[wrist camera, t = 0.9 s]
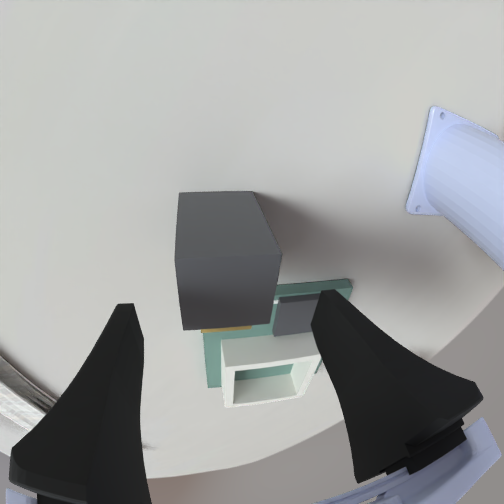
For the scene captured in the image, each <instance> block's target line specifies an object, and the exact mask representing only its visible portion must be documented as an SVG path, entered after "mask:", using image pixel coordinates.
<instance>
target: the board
mask: <svg viewBox="0 0 504 504" xmlns="http://www.w3.org/2000/svg"><path fill="white" fill-rule="evenodd" d="M331 289H335V290H336V291H338V292H339V293H340V294H341V295H342V296H343V297H344V298H346V299H347V300H348V299H349V297H350V294H351V292H352V289H353V287H352V285H351V283H350V282H349V280H348V279H342V280H332V281H321V282H310V283H298V284H286V285H277V287H276V292H275V298H274V304H273V309H272V315H271V320H270V324H262V325H252V328H251V329H246V330H235V331H222V332H208V333H203V339H204V352H205V363H206V374H207V384H208V388H214V387H222V392H223V398H224V405H225V408H231V407H240V406H248V405H256V404H263V403H269V402H276V401H282V400H287V399H293V398H298V397H303V395H304V393H305V391H306V389H307V387H308V385H309V383H310V381H311V379H312V377H313V375H314V374H315V373H316V372H317V370H318V368H319V366H320V364H321V362H322V358H321V356H320V353H319V351H318V348H317V346H316V343H315V339H314V336H313V332H312V329H311V325H310V324H311V321H312V318H313V315H314V312H315V309H316V306H317V303H318V299H319V296H320V293H321V291H322V290H331Z"/></svg>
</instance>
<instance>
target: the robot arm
mask: <svg viewBox="0 0 504 504" xmlns="http://www.w3.org/2000/svg"><path fill="white" fill-rule="evenodd" d="M440 114H441V117H440ZM416 207H417V208H416ZM406 211H407V212H408V213H409V214H421V215H440V216H444V217H446V218H447V219H448V220H449V221H450V222H452V223H453V224H454V225H455V226H456V227H458V228H459V229H460V230H461V231H462V232H463V233H464V234H466V235H467V236H468V237H469V238H470V239H471V240H472V241H473V242H474V243H476V244H477V245H478V246H479V247H480V248H481V249H482V250H483V251H484V252H485V253H486V254H487V255H488V256H489V257H490V258H491V259H492V260H493V261H494V262H495V263H496V264H497V265H498V266H499V267H500V268H501V269H502V270H503V271H504V142H503V141H501V140H499V137H498V136H497V135H496V134H494V133H492V132H490V131H489V130H487V129H485V128H483V127H481V126H479V125H477V124H475V123H473V122H471V121H469V120H467V119H465V118H463V117H461V116H458V115H456V114H454V113H452V112H450V111H447V110H445V109H443V108H440V107H437V106H432V107H431V109H430V113H429V118H428V123H427V128H426V133H425V137H424V142H423V146H422V150H421V154H420V158H419V162H418V166H417V170H416V173H415V177H414V181H413V184H412V188H411V191H410V194H409V198H408V201H407V204H406ZM310 325H311V329H312V332H313V336H314V339H315V343H316V346H317V348H318V351H319V353H320V356H321V358H322V360H323V363H324V365H325V367H326V369H327V372H328V374H329V376H330V379H331V381H332V383H333V385H334V388H335V390H336V393H337V396H338V398H339V402H340V405H341V409H342V412H343V416H344V420H345V423H346V428H347V432H348V436H349V441H350V446H351V452H352V459H353V466H354V476H355V478H356V481H357V483H361V482H363V481H366V480H368V479H371V478H373V477H375V476H378V475H380V474H382V473H384V472H386V474H387V476H386V477H383V478H381V479H379V480H376V481H374V482H372V483H370V484H367V485H365V486H362V487H360V488H357V489H355V490H352V491H349V492H347V493H344V494H341V495H338V496H335V497H332V498H329V499H326V500H323V501H319V502H316V503H313V504H358V503H361V502H363V501H366V500H368V499H370V498H373V497H375V496H377V495H378V496H377V499H376V500H375V501H373V502H370V503H367V504H455V503H456V502H457V501H458V500H459V499H460V498H461V497H462V496H463V495H464V494H465V493H466V492H467V491H468V490H469V489H470V488H471V487H472V486H473V485H474V484H475V483H476V482H477V480H478V479H479V478H480V477H481V476H482V475H483V474H484V473H485V472H486V471H487V470H488V469H489V468H490V467H491V466H492V465H493V464H494V463H495V462H496V461H497V460H498V459H499V458H500V457H501V452H500V450H499V448H498V446H497V444H496V442H495V440H494V438H493V436H492V434H491V432H490V430H489V428H488V426H487V424H486V422H485V420H484V418H483V417H481V418H480V419H478V420H477V421H476V422H474V423H473V424H472V425H470V426H469V427H468V428H466V429H465V430H462V428H461V426H462V425H464V422H463V420H462V417H464V416H465V415H466V414H467V413H469V412H470V411H471V410H472V409H473V408H474V407H476V406H477V405H478V404H479V403H480V402H481V401H482V400H483V396H482V394H481V392H480V390H479V389H478V387H477V385H476V383H475V382H473V381H470V380H467V379H464V378H462V377H459V376H456V375H454V374H451V373H449V372H447V371H445V370H442V369H440V368H438V367H436V366H434V365H432V364H431V363H429V362H427V361H425V360H424V359H422V358H420V357H418V356H417V355H415V354H414V353H412V352H411V351H409V350H408V349H406V348H405V347H403V346H402V345H400V344H399V343H398V342H396V341H395V340H393V339H392V338H391V337H390V336H388V335H387V334H386V333H385V332H383V331H382V330H381V329H380V328H378V327H377V326H376V325H375V324H374V323H373V322H371V321H370V320H369V319H368V318H367V317H366V316H365V315H363V314H362V313H361V312H360V311H359V310H358V309H357V308H356V307H354V306H353V305H352V304H351V303H350V302H349V301H348V300H347V299H346V298H344V297H343V296H342V295H341V294H340V293H339V292H338V291H336V290H335V289H331V290H322V291H321V293H320V296H319V299H318V303H317V306H316V309H315V312H314V315H313V318H312V321H311V324H310ZM143 367H144V337H143V334H142V331H141V328H140V324H139V321H138V317H137V314H136V310H135V307H134V303H129V304H118V305H117V306H116V307H115V309H114V311H113V313H112V315H111V317H110V319H109V321H108V322H107V324H106V326H105V328H104V330H103V332H102V333H101V335H100V337H99V339H98V340H97V342H96V344H95V346H94V347H93V349H92V351H91V353H90V354H89V356H88V357H87V359H86V361H85V362H84V364H83V365H82V367H81V369H80V370H79V372H78V373H77V375H76V376H75V378H74V379H73V381H72V382H71V383H70V385H69V386H68V388H67V389H66V390H65V392H64V393H63V394H62V396H61V397H60V398H59V399H58V401H57V402H56V403H55V404H54V406H53V407H52V408H51V409H50V410H49V412H48V413H47V414H46V415H45V416H44V417H43V418H42V419H41V420H40V421H39V422H38V424H37V425H36V426H35V427H34V428H33V429H32V430H31V431H30V432H29V433H28V434H27V435H25V436H24V437H23V438H22V439H21V440H20V441H19V442H18V443H17V444H16V445H15V446H13V447H12V450H11V456H10V471H9V480H10V482H11V483H13V484H15V485H17V486H20V487H22V488H24V489H27V490H30V491H32V492H35V493H37V499H35V498H32V497H29V496H27V495H24V494H21V493H19V492H16V491H14V490H11V489H9V488H7V489H6V504H152V503H151V498H150V494H149V489H148V484H147V479H146V473H145V467H144V460H143V451H142V442H141V430H140V404H141V390H142V378H143Z"/></svg>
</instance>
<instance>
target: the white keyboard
mask: <svg viewBox="0 0 504 504" xmlns="http://www.w3.org/2000/svg"><path fill="white" fill-rule="evenodd" d="M7 365H8V366H7ZM13 370H14V371H15V372H16V373H17V374H18V375H20V376H21V377H22V378H23V379H24V380H26V381H27V382H28V383H29V384H31V385H32V386H33V387H35V388H36V389H37V390H39V391H40V392H41V393H43V394H44V395H45V396H47V397H48V398H49V399H51V400H52V401H54V402H55V403H56V402H57V401H56V400H55V399H54V398H52V397H51V396H49V395H48V394H47V393H45V392H44V391H42V390H41V389H40V388H38V387H37V386H36V385H34V384H33V383H32V382H31V381H29V380H28V379H27V378H26V377H24V376H23V375H22V374H21V373H19V372H18V371H17V370H16V369H15V368H14V367H12V366H11V365H10V364H9V363H8V362H7V361H6V360H5V359H3V358H2V357H1V356H0V413H1V414H3V415H4V416H6V417H7V418H9V419H10V420H12V421H13V422H15V423H17V424H18V425H20V426H21V427H23V428H25V429H26V430H28V431H31V430H32V429H33V428H34V427H35V426H36V425H37V424H38V422H39V421H40V420H41V419H42V418H43V417H44V416H45V415H46V414H47V413H46V412H45V411H44V410H42V409H41V408H40V407H38V406H37V405H36V404H35V403H34V402H36V403H37V404H39V405H41V406H43V407H44V408H46V409H48V410H50V409H49V408H47V407H46V406H45V405H44V404H42V403H41V402H40V401H39V400H38V399H36V398H35V397H34V396H36V397H37V398H39V399H40V400H41V401H43V402H44V403H46V404H47V405H49V406H50V407H53V406H54V403H52V402H51V401H50V400H48V399H47V398H46V397H44V396H43V395H42V394H40V393H39V392H38V391H36V390H35V389H34V388H33V387H31V386H30V385H29V384H28V383H26V382H25V381H24V380H23V379H22V378H21V377H19V376H18V375H17V374H16V373H15V372H14V371H13ZM4 379H5V380H4ZM10 384H11V385H10ZM15 388H16V389H15ZM19 391H20V392H21V393H20V392H19ZM28 391H29V392H28ZM22 393H23V394H24V395H26V396H27V397H28V398H30V399H31V400H33V401H34V402H32V401H31V400H29V399H28V398H27V397H26V396H24V395H23V394H22ZM31 393H32V394H33V395H34V396H33V395H32V394H31Z"/></svg>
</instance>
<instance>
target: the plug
mask: <svg viewBox="0 0 504 504" xmlns="http://www.w3.org/2000/svg"><path fill="white" fill-rule="evenodd" d="M281 257H282V252H281V250H280V248H279V246H278V244H277V242H276V240H275V238H274V235H273V233H272V231H271V229H270V227H269V225H268V223H267V221H266V219H265V216H264V214H263V212H262V210H261V208H260V206H259V204H258V202H257V200H256V198H255V196H254V194H253V192H252V191H221V192H186V193H179V200H178V212H177V225H176V241H175V268H176V277H177V286H178V295H179V303H180V310H181V318H182V325H183V330H200V329H201V333H208V332H222V331H235V330H246V329H251V328H252V325H262V324H270V320H271V315H272V309H273V304H274V298H275V292H276V287H277V281H278V275H279V269H280V263H281Z"/></svg>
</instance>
